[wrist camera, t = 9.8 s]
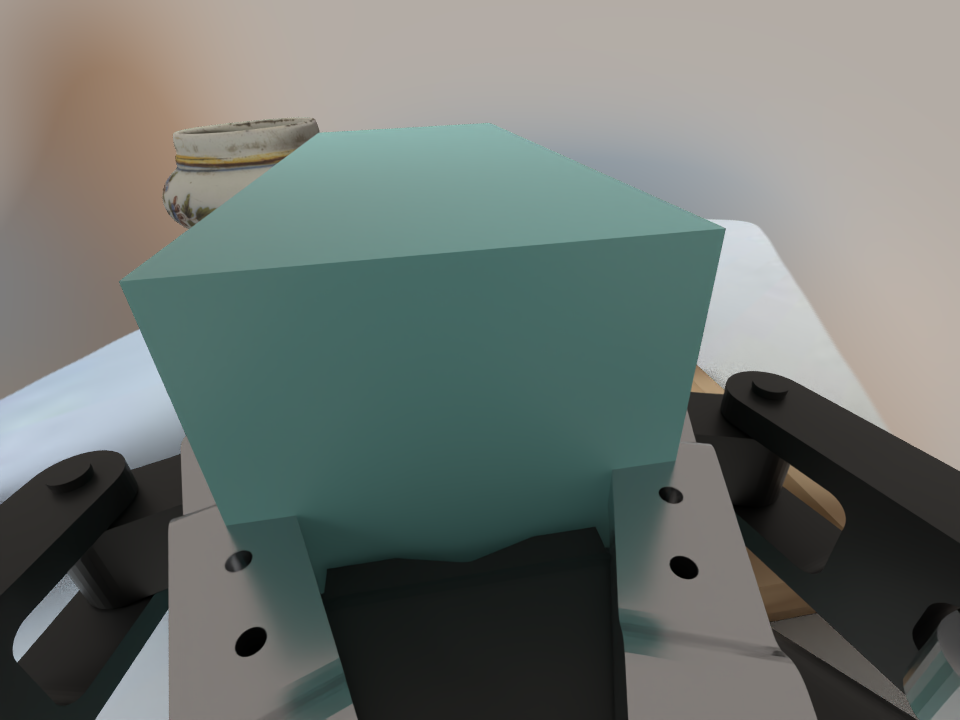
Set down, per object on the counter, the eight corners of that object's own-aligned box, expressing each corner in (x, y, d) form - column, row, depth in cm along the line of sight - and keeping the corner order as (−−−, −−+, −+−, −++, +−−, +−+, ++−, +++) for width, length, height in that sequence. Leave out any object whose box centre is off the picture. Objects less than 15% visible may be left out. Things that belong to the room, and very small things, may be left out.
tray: (885, 599, 20) (908, 559, 19) (646, 646, 19) (654, 606, 18) (675, 380, 35) (680, 350, 34) (534, 399, 34) (534, 368, 33)
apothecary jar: (200, 416, 34) (84, 138, 26) (270, 338, 45) (205, 121, 36) (369, 412, 34) (310, 125, 25) (400, 334, 44) (366, 111, 35)
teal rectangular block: (604, 792, 10) (725, 228, 4) (365, 845, 10) (119, 281, 4) (498, 437, 21) (490, 123, 15) (378, 453, 20) (318, 132, 14)
